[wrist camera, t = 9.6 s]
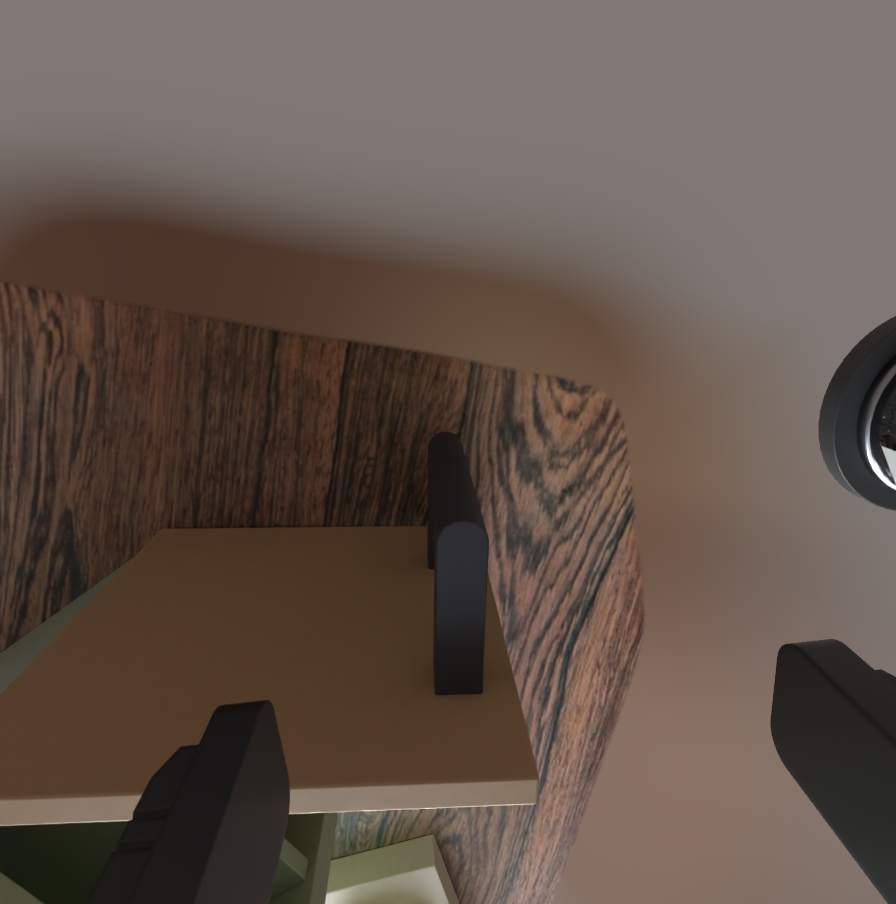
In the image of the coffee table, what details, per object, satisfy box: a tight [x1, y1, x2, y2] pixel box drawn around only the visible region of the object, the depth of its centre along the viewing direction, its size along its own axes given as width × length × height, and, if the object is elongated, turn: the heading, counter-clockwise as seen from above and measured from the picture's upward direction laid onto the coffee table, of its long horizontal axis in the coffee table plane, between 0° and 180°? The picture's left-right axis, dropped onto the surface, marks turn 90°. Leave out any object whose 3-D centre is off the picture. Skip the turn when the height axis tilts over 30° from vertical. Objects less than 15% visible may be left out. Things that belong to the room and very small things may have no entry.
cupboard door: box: [0, 432, 539, 826], centre depth 23 cm, size 7×17×17 cm, turn 89°
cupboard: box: [0, 559, 338, 904], centre depth 26 cm, size 13×17×17 cm
